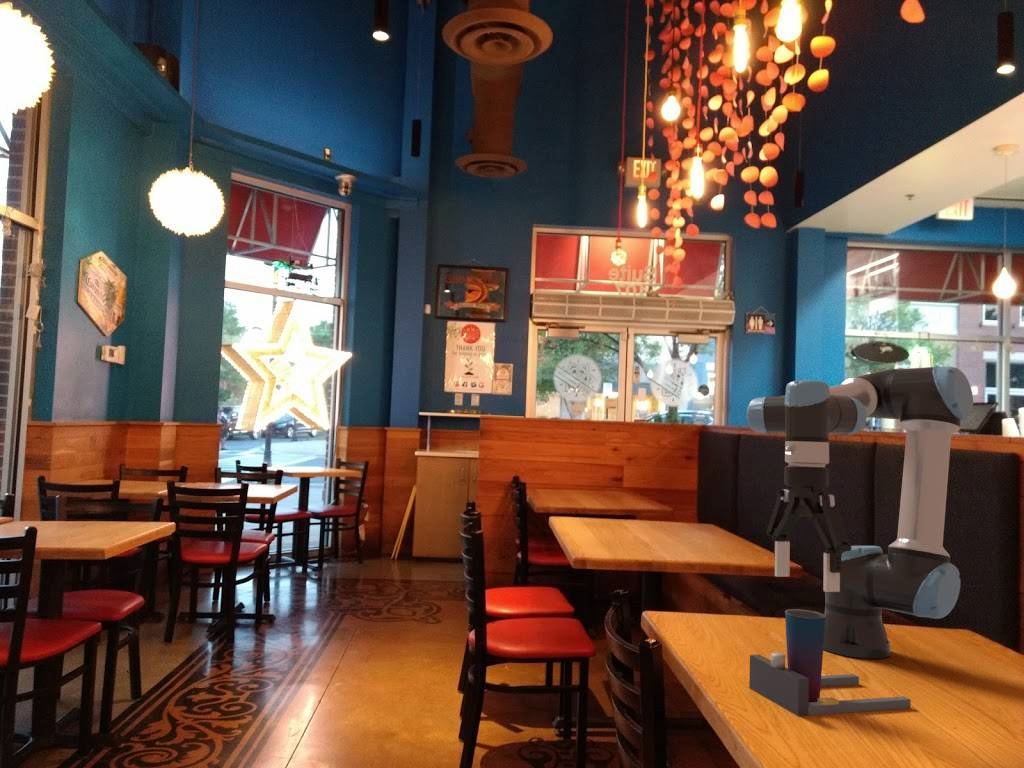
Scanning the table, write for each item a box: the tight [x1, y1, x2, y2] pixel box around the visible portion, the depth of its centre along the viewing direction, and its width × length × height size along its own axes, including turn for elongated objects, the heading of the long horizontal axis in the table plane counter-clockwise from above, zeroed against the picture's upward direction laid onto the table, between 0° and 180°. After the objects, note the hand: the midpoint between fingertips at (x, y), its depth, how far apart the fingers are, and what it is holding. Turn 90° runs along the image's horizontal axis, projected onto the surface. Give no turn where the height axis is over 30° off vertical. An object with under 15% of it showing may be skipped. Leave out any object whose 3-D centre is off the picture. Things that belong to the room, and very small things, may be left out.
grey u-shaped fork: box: [749, 652, 912, 717], centre depth 133 cm, size 23×14×8 cm, turn 106°
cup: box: [784, 608, 826, 703], centre depth 132 cm, size 7×7×15 cm
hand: (805, 583), depth 133 cm, fingers open, 13 cm apart
